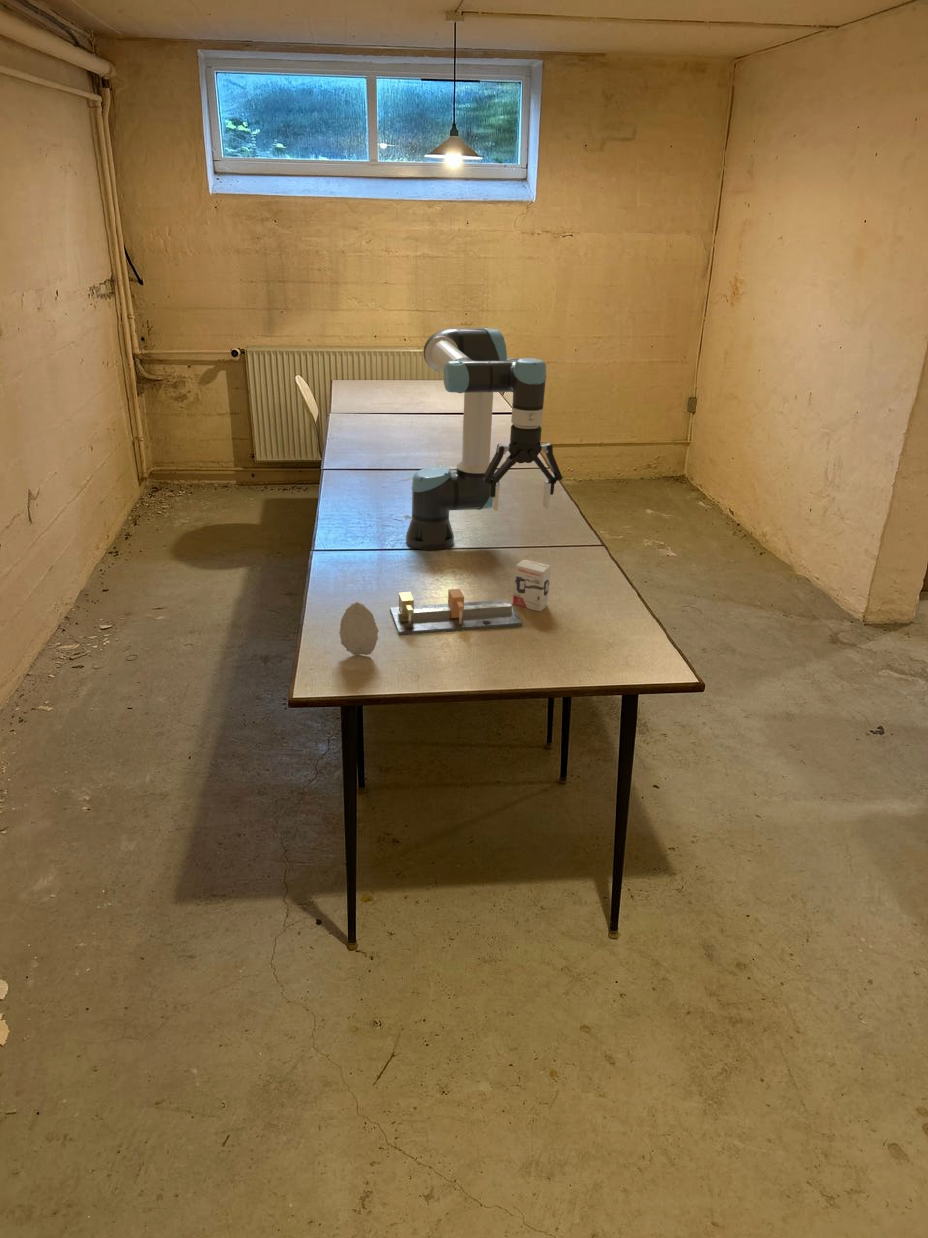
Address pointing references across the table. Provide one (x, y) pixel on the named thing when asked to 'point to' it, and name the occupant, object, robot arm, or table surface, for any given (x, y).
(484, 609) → the rail
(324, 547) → the table surface
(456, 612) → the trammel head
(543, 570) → the ink box
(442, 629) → the hole plate
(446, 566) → the table surface
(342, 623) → the stone tool
